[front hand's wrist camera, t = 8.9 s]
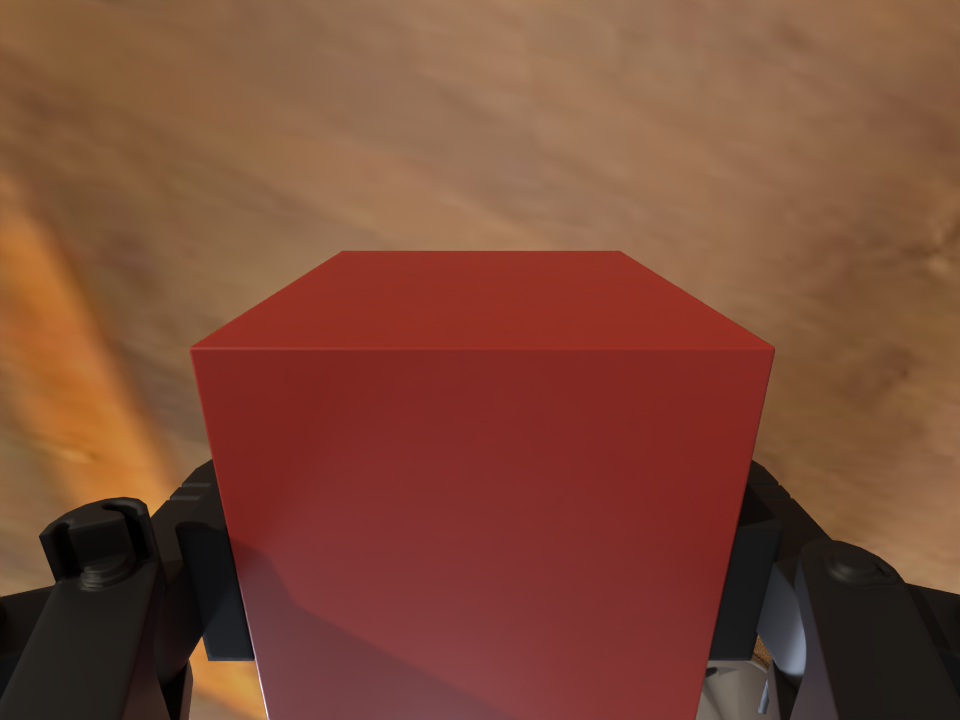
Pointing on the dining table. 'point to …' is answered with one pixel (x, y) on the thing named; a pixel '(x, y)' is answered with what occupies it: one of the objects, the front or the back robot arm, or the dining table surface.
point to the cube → (482, 484)
